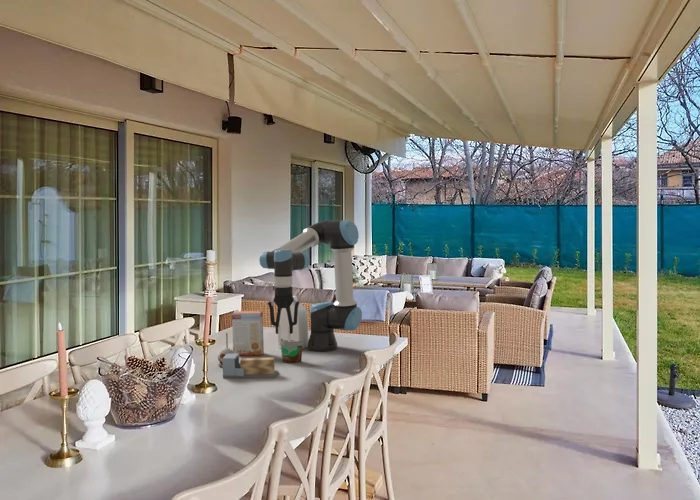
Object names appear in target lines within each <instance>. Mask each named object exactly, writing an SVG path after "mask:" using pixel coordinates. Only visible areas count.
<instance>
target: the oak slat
mask: <svg viewBox="0 0 700 500" xmlns="http://www.w3.org/2000/svg"><path fill="white" fill-rule="evenodd" d="M239 363H240V367H241V369H244V375H245V374H274V372H275V370H276V369H275V368H276V367H275V356H273V357H247V358H246V357H245V358H244V357H243V358H240V359H239Z"/></svg>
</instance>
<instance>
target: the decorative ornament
mask: <svg viewBox="0 0 700 500" xmlns="http://www.w3.org/2000/svg"><path fill="white" fill-rule="evenodd" d="M225 334H226V335H225V345H226V348H225V347H224V349H221V351H220V352H219V354H218V355H217V361H218V362H219V363H218V364H217V366H219V367H222V368H223V357H224V356H225V355H227V354H235V352H234V351H233V348H231V347H229V341H228V339H229V338H228V337H229V336H228V332H226V333H225Z"/></svg>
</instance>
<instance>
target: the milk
mask: <svg viewBox="0 0 700 500" xmlns="http://www.w3.org/2000/svg"><path fill="white" fill-rule="evenodd" d="M293 298H294V300H296V301H299V300H298V297H297V295H293ZM294 307H295V306H294V303H292V304H291V305H290V311H291V316H292V322H294ZM279 326H281V339H282V338H283V340H286V341H288V326H289V321H288V316H287V311H286V308H282V309H281V315H280V321H279ZM290 338H291V340H293V341H296V342H297V341H302V340H303V343H304V345H303V346H302V350H303V349H305V348H308V341H309V327H308V310H307V308H306V307H305V306H304V305H303V304H302V303H301V302H300V303H299V305H298V316H297V324H296V325H293V333H292V334H290ZM279 343H280V342H278V347H277V348H278V350H281V345H279Z"/></svg>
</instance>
